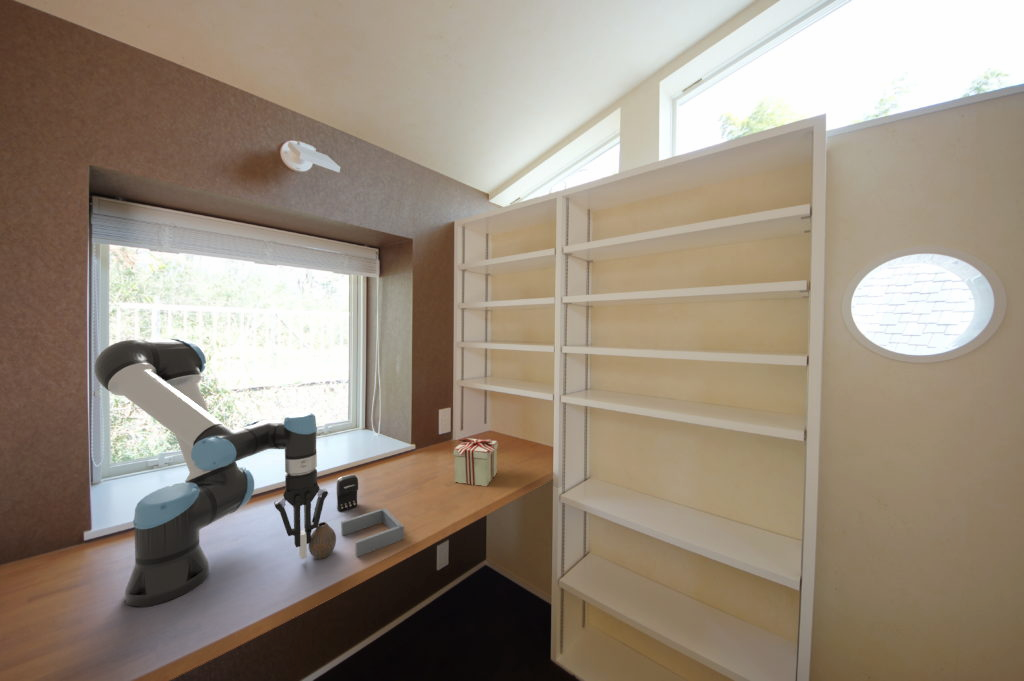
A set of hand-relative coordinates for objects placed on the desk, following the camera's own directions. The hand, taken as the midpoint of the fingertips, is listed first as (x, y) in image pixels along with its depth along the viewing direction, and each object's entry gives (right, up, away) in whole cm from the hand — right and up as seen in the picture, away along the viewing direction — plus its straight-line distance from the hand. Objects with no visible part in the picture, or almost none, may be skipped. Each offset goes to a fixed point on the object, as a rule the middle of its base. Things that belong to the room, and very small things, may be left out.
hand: (303, 556), depth 99 cm
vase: (+4, -2, +4) cm, 5 cm away
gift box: (+42, -1, +56) cm, 70 cm away
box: (+14, -2, +13) cm, 19 cm away
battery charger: (-2, -1, +31) cm, 31 cm away
